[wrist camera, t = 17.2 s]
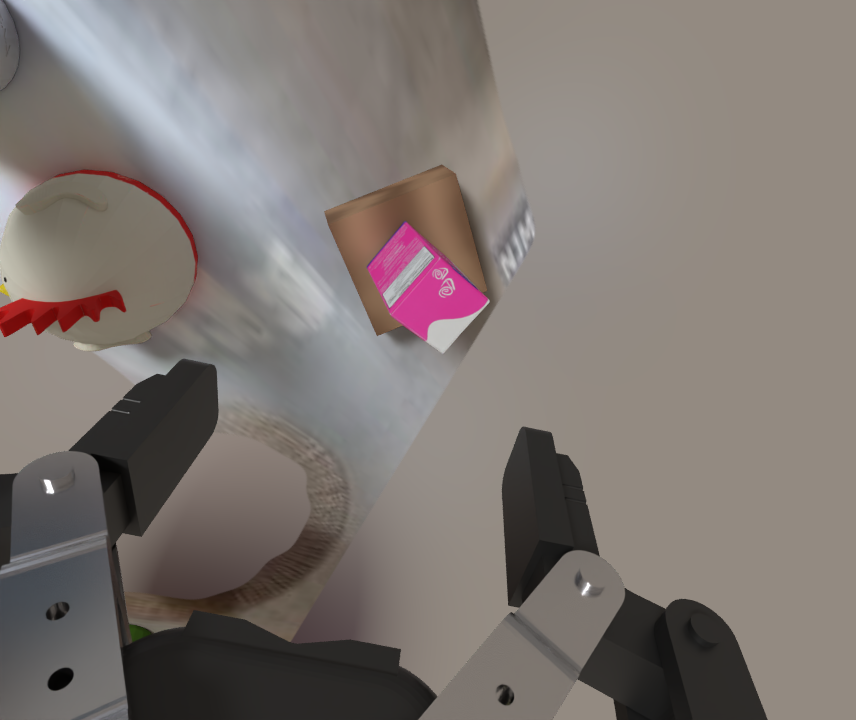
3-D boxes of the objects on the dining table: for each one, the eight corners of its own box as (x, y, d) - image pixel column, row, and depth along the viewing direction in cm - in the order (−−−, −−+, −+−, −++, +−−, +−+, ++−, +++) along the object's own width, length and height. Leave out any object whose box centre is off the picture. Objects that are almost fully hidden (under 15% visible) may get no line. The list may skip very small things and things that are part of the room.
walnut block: (369, 314, 54) (377, 335, 50) (323, 210, 47) (328, 224, 43) (471, 273, 55) (487, 290, 50) (440, 163, 48) (455, 173, 44)
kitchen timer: (-13, 173, 39) (-148, 226, 27) (175, 165, 42) (132, 210, 30) (55, 330, 47) (-27, 429, 34) (212, 314, 49) (189, 400, 37)
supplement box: (450, 256, 48) (493, 303, 38) (409, 302, 49) (441, 359, 39) (405, 216, 45) (441, 257, 35) (363, 266, 46) (386, 319, 36)
